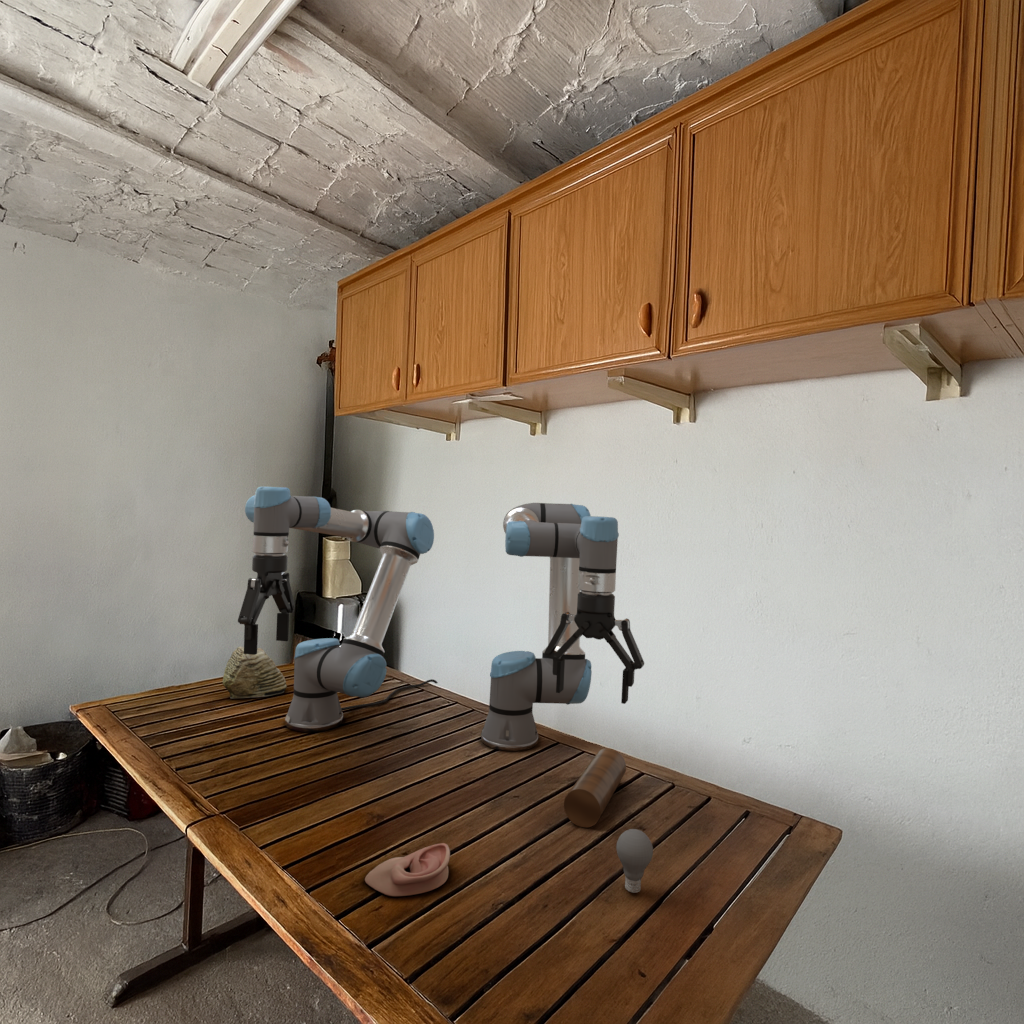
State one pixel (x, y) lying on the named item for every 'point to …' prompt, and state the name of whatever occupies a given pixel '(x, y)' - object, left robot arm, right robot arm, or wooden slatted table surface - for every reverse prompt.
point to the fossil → (252, 675)
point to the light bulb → (634, 857)
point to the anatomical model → (412, 872)
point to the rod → (595, 788)
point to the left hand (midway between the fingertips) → (267, 647)
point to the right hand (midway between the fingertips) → (591, 696)
